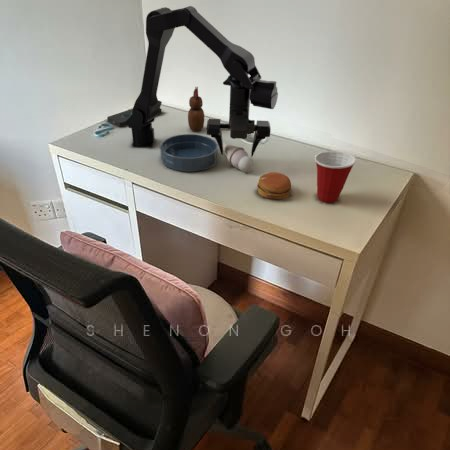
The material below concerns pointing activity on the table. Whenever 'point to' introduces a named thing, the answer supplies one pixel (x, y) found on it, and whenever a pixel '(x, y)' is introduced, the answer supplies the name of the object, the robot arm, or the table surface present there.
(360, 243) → the table surface
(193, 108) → the wooden figurine
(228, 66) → the robot arm
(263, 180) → the burger
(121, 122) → the smart home device
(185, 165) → the bowl
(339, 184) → the plastic cup
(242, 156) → the ice cream cone
